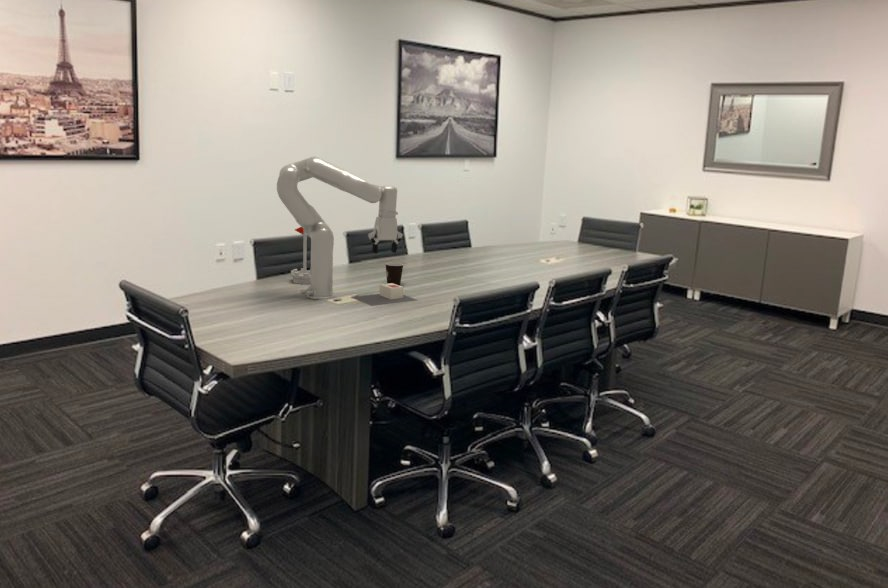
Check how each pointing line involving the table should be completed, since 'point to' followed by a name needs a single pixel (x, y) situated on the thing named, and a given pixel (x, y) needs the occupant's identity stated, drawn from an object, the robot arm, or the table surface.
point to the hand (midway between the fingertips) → (384, 252)
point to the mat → (381, 299)
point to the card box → (391, 291)
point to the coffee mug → (394, 273)
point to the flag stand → (303, 275)
